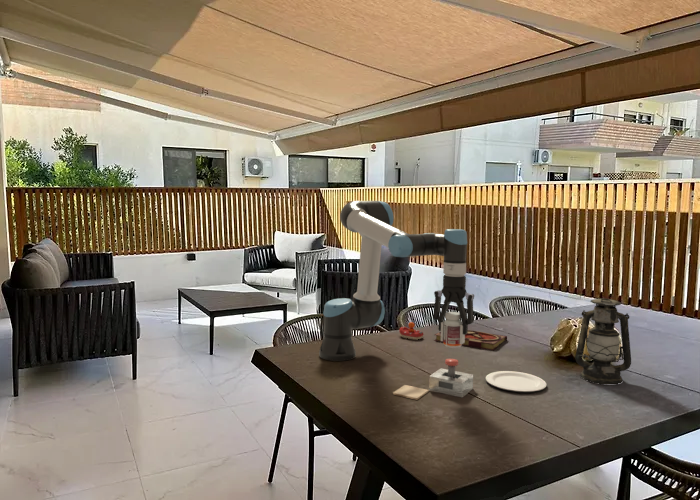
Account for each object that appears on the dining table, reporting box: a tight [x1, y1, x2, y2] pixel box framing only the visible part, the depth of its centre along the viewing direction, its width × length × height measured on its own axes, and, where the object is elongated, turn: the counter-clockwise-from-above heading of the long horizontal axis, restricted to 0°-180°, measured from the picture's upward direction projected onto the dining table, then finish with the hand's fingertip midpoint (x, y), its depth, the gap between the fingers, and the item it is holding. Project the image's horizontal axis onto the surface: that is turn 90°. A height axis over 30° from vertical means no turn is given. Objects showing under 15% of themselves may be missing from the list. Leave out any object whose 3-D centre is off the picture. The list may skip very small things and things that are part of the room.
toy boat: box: [398, 321, 425, 341], centre depth 248 cm, size 8×12×8 cm, turn 56°
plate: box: [485, 370, 548, 393], centre depth 186 cm, size 21×21×2 cm
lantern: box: [574, 298, 632, 385], centre depth 189 cm, size 19×19×30 cm
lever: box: [444, 358, 459, 378], centre depth 179 cm, size 4×4×6 cm
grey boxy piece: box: [428, 367, 474, 398], centre depth 180 cm, size 12×10×5 cm
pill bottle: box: [442, 311, 463, 349], centre depth 178 cm, size 6×6×11 cm
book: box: [433, 329, 508, 351], centre depth 243 cm, size 28×21×5 cm
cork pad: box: [392, 384, 430, 401], centre depth 176 cm, size 9×9×1 cm
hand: (452, 341), depth 178 cm, fingers closed on pill bottle, 6 cm apart
